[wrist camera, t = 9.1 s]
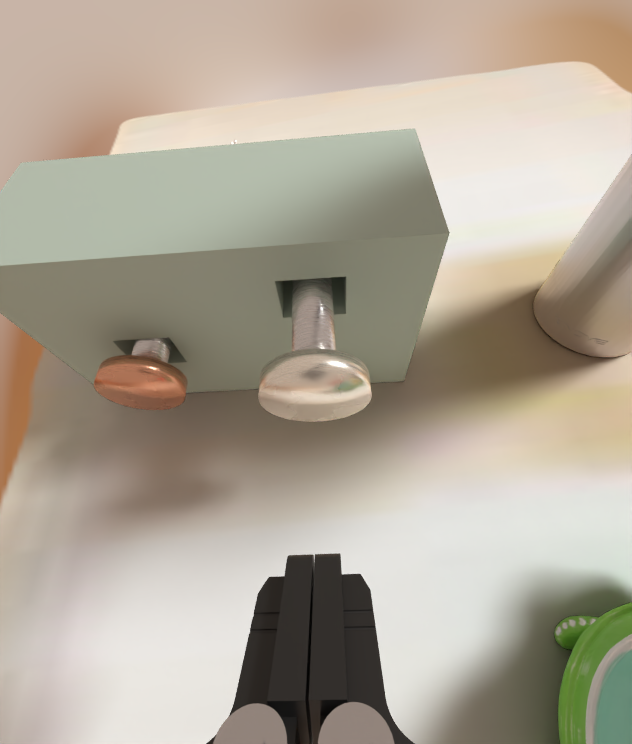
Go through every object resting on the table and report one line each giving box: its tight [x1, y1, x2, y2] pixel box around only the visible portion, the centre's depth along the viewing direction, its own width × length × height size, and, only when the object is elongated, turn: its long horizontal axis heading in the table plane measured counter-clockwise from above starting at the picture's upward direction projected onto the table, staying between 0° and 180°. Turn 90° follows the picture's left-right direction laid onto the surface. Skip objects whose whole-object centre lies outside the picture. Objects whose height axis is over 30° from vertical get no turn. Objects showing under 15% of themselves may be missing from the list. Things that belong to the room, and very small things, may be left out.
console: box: [0, 129, 449, 393], centre depth 27 cm, size 10×26×15 cm, turn 91°
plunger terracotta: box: [94, 337, 188, 410], centre depth 27 cm, size 13×6×6 cm, turn 1°
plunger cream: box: [258, 278, 372, 422], centre depth 21 cm, size 13×6×6 cm, turn 1°
